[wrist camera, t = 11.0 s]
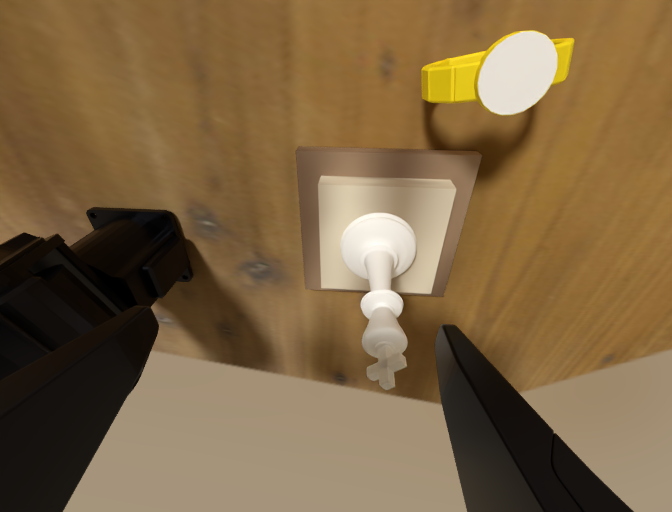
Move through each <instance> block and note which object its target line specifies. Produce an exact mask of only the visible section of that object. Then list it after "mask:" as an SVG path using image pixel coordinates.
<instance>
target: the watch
mask: <svg viewBox="0 0 672 512" xmlns="http://www.w3.org/2000/svg"><path fill="white" fill-rule="evenodd" d="M574 41H575V40H574V39H573V38H561V39H551V40H550V39H549V38H548V36H547V35H545V34H543V33H540V32H537V31H518V32H514V33H511V34H509V35H506V36H504V37H502V38H501V39H499V40H498V41H497V42H495V43H494V44H493V45H492V46H491V47H490V48H489V49H488V50H487V51H483V52H478V53H473V54H469V55H464V56H459V57H455V58H448V59H445V60H442V61H438V62H435V63H431V64H428V65H426V66H424V67H423V68H422V69H421V78H422V98H423V99H424V100H426V101H428V102H430V103H431V102H432V103H462V102H473V101H478V103H479V104H480V105H481V106H482V107H483V108H484V109H485V110H487V111H489V112H490V113H493V114H496V115H499V116H512V115H515V114H518V113H521V112H524V111H526V110H527V109H529V108H530V107H532V106H533V105H535V104H536V103H537V102H538V101H539V100H540V99H541V98H542V97H543V96H544V95H545V94H546V92H547V91H548V89H549V87H550V86H553V85H556V84H559V83H561V82H563V81H564V80H565V79H566V77H567V75H568V71H569V66H570V61H571V56H572V51H573V46H574Z"/></svg>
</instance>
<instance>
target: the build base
mask: <svg viewBox="0 0 672 512" xmlns="http://www.w3.org/2000/svg"><path fill="white" fill-rule="evenodd" d="M481 158H482V155H481V154H480V153H479V152H478V151H460V150H420V149H381V148H341V147H302V146H299V147H298V148H297V150H296V160H297V175H298V189H299V204H300V218H301V233H302V247H303V262H304V276H305V289H311V290H329V291H348V292H366V293H369V292H371V289H370V284H369V280H368V279H364V278H361V277H359V276H357V275H356V274H354V273H353V272H351V271H350V270H349V269H348V267H347V266H346V265H345V263H344V261H343V259H342V255H341V248H340V243H341V238H342V235H343V233H344V231H345V229H346V228H347V227H348V225H349V224H350V223H352V222H353V221H354V220H356V219H357V218H359V217H361V216H364V215H366V214H371V213H388V214H392V215H395V216H397V217H399V218H401V219H403V220H404V221H405V222H407V223H408V224H409V226H410V227H411V228H412V230H413V232H414V234H415V237H416V255H415V258H414V260H413V262H412V264H411V265H410V266H409V268H408V269H407V270H406V271H404V272H403V273H402V274H400V275H398V276H396V277H394V278H391V291H394V292H396V293H397V294H403V295H422V296H440V297H443V296H444V292H445V288H446V285H447V281H448V278H449V274H450V270H451V267H452V263H453V260H454V256H455V252H456V249H457V245H458V241H459V238H460V234H461V231H462V227H463V223H464V220H465V216H466V213H467V209H468V205H469V202H470V198H471V194H472V191H473V187H474V184H475V180H476V176H477V173H478V169H479V166H480V162H481Z"/></svg>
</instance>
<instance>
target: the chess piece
mask: <svg viewBox="0 0 672 512" xmlns="http://www.w3.org/2000/svg"><path fill="white" fill-rule="evenodd" d="M340 248H341V255H342V259H343V261H344V263H345V265H346V266H347V267H348V269H349V270H350V271H351V272H353V273H354V274H356V275H357V276H359V277H361V278H364V279H368V280H369V284H370V289H371V292H369V293H367V294H366V295H365V296H364V297H363V299H362V301H361V309H362V311H363V314H364V315H365V316H366V317H367V318H368V319H370V320H369V323H368V326H367V328H366V329H365V331H364V334H363V337H362V347H363V349H364V350H365V351H366V352H367V353H368V354H369V355H371V356H373V357H376V358H378V362H377V363H375V364H373V365H370V366H368V367H367V377H368V378H369V379H371V380H372V381H376V380H378V379H379V386H381V387H382V388H383V389H385V390H386V391H387V390H389V389H391V388H394V387H395V378H394V372H396V371H398V370H401V369H403V368H405V367H407V363H406V357H405V356H403V355H402V353H403V352H404V351H405V350H406V348H407V344H408V341H407V337H406V335H405V333H404V331H403V329H402V328H401V327H400V325H399V324H398V321H397V319H396V318H397V317H398V316H399V315H400V314H401V312H402V309H403V300H402V298H401V297H400V296H399V295H398V294H397V293H396V292H394V291H391V278H394V277H396V276H398V275H400V274H402V273H403V272H404V271H406V270H407V269H408V268H409V266H410V265H411V264H412V262H413V260H414V258H415V255H416V237H415V234H414V232H413V230H412V228H411V227H410V226H409V224H408V223H407V222H405V221H404V220H403V219H401V218H399V217H397V216H395V215H392V214H388V213H371V214H366V215H364V216H361V217H359V218H357V219H356V220H354V221H353V222H352V223H350V224H349V225H348V227H347V228H346V229H345V231H344V233H343V235H342V238H341V243H340Z"/></svg>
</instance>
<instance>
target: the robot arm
mask: <svg viewBox="0 0 672 512" xmlns="http://www.w3.org/2000/svg"><path fill="white" fill-rule="evenodd" d="M86 214H87V216H88V218H89V220H90V222H91V224H92V226H93V228H94V231H92V232H91V233H89V234H88V235H86V236H85V237H83V238H82V239H80V240H79V241H77V242H76V243H74V244H73V245H71V246H70V247H68V246H67V245H66V244H65V243H64V241H65V240H64V239H63V238H62V237H61V236H60V235H59V234H58V233H57V234H55V235H52V236H50V237H48V238H45V239H44V238H43V237H42V238H40V237H36V236H33V235H30V234H27V233H22V234H20V235H17V236H15V237H13V238H12V239H10V240H8V241H6V242H4V243H2V244H0V512H63V510H64V508H65V507H66V505H67V503H68V501H69V500H70V498H71V496H72V494H73V492H74V491H75V489H76V487H77V485H78V483H79V482H80V480H81V478H82V476H83V474H84V473H85V471H86V469H87V467H88V466H89V464H90V462H91V460H92V458H93V457H94V455H95V453H96V451H97V450H98V448H99V446H100V444H101V442H102V441H103V439H104V437H105V435H106V433H107V432H108V430H109V428H110V426H111V424H112V423H113V421H114V419H115V417H116V416H117V414H118V412H119V410H120V408H121V407H122V405H123V403H124V401H125V399H126V398H127V396H128V395H129V393H130V392H131V391H132V390H133V389H134V387H135V386H136V384H137V383H138V381H139V378H140V377H141V374H142V372H143V369H144V367H145V364H146V362H147V359H148V357H149V354H150V352H151V349H152V347H153V344H154V342H155V339H156V337H157V334H158V329H159V324H158V321H157V319H156V317H155V315H154V313H153V311H152V309H151V308H150V307H151V306H152V305H153V304H154V303H155V301H156V300H157V299H158V298H163V297H164V296H165V295H166V293H167V292H168V291H169V290H170V288H171V287H172V286H173V285H174V284H175V282H176V281H180V282H189V281H190V280H191V279H192V278H193V273H192V270H191V267H190V262H189V259H188V256H187V253H186V250H185V247H184V244H183V241H182V239H181V237H180V234H179V231H178V228H177V225H176V222H175V219H174V216H173V214H172V213H171V212H169V211H167V210H151V209H125V208H100V207H93V208H91V209H89V210H87V212H86ZM95 214H96V215H95ZM164 216H166V217H167V219H166V218H165V217H164ZM185 275H186V276H185ZM435 355H436V364H437V372H438V380H439V389H440V396H441V402H442V407H443V411H444V415H445V420H446V423H447V428H448V432H449V436H450V441H451V444H452V449H453V453H454V458H455V462H456V466H457V470H458V474H459V479H460V483H461V487H462V491H463V496H464V500H465V504H466V508H467V512H634V511H633V510H631V509H630V508H629V507H628V506H627V505H626V504H625V503H624V502H623V501H622V500H621V499H620V498H619V497H618V496H617V495H616V494H615V493H614V492H612V490H611V489H610V488H609V487H608V486H607V485H605V484H604V483H603V482H602V481H601V480H600V479H599V478H598V477H597V476H596V475H595V474H594V473H593V472H592V471H591V470H590V469H589V468H588V467H587V466H586V465H585V463H584V462H583V461H582V460H581V459H580V458H579V457H578V456H577V455H576V454H575V453H574V452H573V451H572V450H571V449H570V448H569V447H568V446H567V445H566V444H565V442H564V441H563V440H562V439H561V438H560V437H559V436H558V435H557V434H555V433H554V432H553V430H552V429H551V428H550V427H549V425H548V424H547V423H546V422H545V421H544V420H543V419H542V418H541V417H540V416H539V415H538V414H537V412H536V411H535V410H534V409H533V408H532V407H531V406H530V405H529V404H528V403H527V402H526V401H525V399H524V398H523V397H522V396H521V395H520V394H519V393H518V392H517V391H516V390H515V389H514V388H513V387H512V385H511V384H510V383H509V382H508V381H507V380H506V379H505V378H504V377H503V376H502V375H501V374H500V372H499V371H498V370H497V369H496V368H495V367H494V366H493V365H492V364H491V363H490V362H489V361H488V360H487V358H486V357H485V356H484V355H483V354H482V353H481V352H480V351H479V350H478V349H477V348H476V347H475V345H474V344H473V343H472V342H471V341H470V340H469V339H468V338H467V337H466V336H465V335H464V334H463V333H462V331H461V330H460V329H459V328H458V327H457V326H455V325H450V324H442V325H441V326H440V327H439V331H438V334H437V337H436V341H435Z"/></svg>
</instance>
